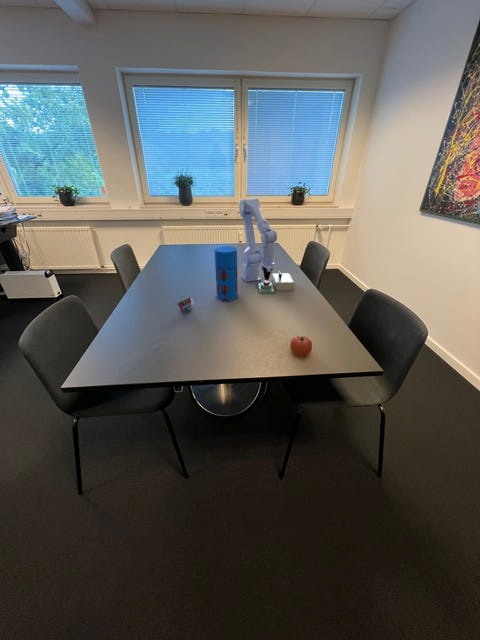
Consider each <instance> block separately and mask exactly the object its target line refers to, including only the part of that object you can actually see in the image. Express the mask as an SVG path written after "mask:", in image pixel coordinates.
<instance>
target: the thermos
mask: <svg viewBox="0 0 480 640" xmlns="http://www.w3.org/2000/svg"><path fill="white" fill-rule="evenodd" d="M214 267H215V268H214V269H215V287H216V296H217V299H218V300H220V301H224V302H230V301H234V300H236V299H237V298H238V286H239V285H238V249H237V248H236V247H235V246H231V245H222V246H221V245H220V246H218V247H215V248H214Z"/></svg>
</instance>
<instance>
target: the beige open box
mask: <svg viewBox="0 0 480 640" xmlns="http://www.w3.org/2000/svg"><path fill="white" fill-rule="evenodd" d="M272 284H273V287H274V289H275V291H294V287H295V282H294V283H280V284H276V282H275V280H274V277H273V276H272Z"/></svg>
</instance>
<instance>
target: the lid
mask: <svg viewBox="0 0 480 640" xmlns="http://www.w3.org/2000/svg"><path fill="white" fill-rule="evenodd" d="M273 277H274V280H275V282H276V284H280V283H294V284H295V281H294V280H293V278H292V275H290V273H289V272H287V273H285V272H284V273H282V272H281V270H278V271H277V273H272V278H273Z"/></svg>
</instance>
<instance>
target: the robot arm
mask: <svg viewBox="0 0 480 640" xmlns="http://www.w3.org/2000/svg"><path fill="white" fill-rule="evenodd" d="M238 208H239V215H240V217H242V222H243V227H244V235H245V241H246V248H245V250H244V251H243V263H244V264H243V265H242V276H241V278H242V279H243V280H244V282H246V283H247V282H255V281H261V280H262V278H260V275H259V273H260V271H259V270H260V265H261V270H262V273H263V278H264V281H266V280H267V281H269V280H270V277H271V273H272V272H273V270H274V268H273V266H275V265H276V262H274V253H275V252H274V251H275V243H276V242H277V239H278V234H277V232H276V230H274V229H273V228H272V227H271V226H270V224H269V222H268V220H267V219H266V218H264V217H263V214H262V212H261V202H260V200H259V198H257V197H255V198H245V199H244V198H240V201H239V203H238ZM253 218H254V219H255V221H256V227H257V230H258V231H259V234H260V241H261V246H262V250H261V249H260V248H259V247H257V242H256V237H255V230H254V222H253Z"/></svg>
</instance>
